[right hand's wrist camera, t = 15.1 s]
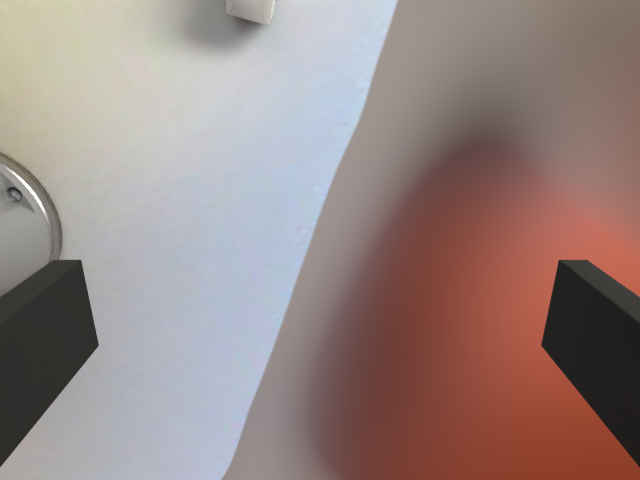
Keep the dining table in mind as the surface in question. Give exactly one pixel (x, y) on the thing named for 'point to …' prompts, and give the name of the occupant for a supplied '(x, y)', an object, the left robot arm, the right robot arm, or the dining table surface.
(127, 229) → the dining table surface
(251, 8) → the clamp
